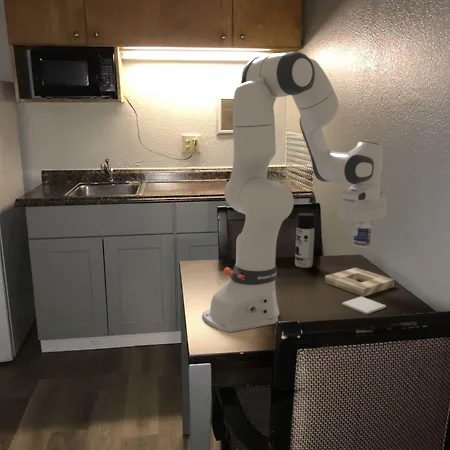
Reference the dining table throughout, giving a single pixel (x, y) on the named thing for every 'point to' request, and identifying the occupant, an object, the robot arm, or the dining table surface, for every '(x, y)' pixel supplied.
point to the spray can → (304, 240)
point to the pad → (364, 305)
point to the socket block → (366, 287)
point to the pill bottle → (363, 234)
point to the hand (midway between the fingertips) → (362, 234)
